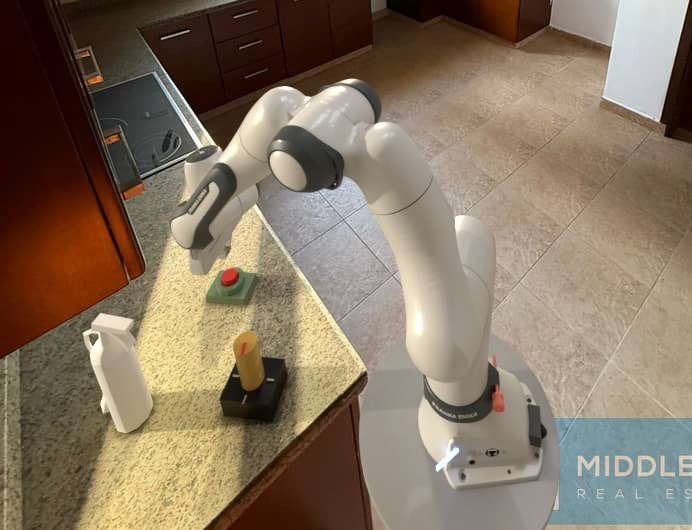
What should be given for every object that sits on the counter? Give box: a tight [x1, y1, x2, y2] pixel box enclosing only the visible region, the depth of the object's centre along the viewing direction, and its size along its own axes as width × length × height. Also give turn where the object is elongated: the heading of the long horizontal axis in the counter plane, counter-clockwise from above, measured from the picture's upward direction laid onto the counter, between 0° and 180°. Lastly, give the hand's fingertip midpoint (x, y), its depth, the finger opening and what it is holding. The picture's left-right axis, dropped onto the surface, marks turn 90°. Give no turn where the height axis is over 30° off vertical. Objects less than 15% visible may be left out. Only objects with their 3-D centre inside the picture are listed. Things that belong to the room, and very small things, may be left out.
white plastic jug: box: [82, 312, 154, 434], centre depth 81 cm, size 7×12×25 cm, turn 80°
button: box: [222, 267, 238, 286], centre depth 107 cm, size 4×4×2 cm
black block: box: [218, 353, 289, 423], centre depth 86 cm, size 10×9×5 cm
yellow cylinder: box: [232, 330, 265, 391], centre depth 83 cm, size 4×4×10 cm
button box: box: [205, 266, 258, 307], centre depth 108 cm, size 10×7×4 cm
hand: (225, 254), depth 104 cm, fingers closed
